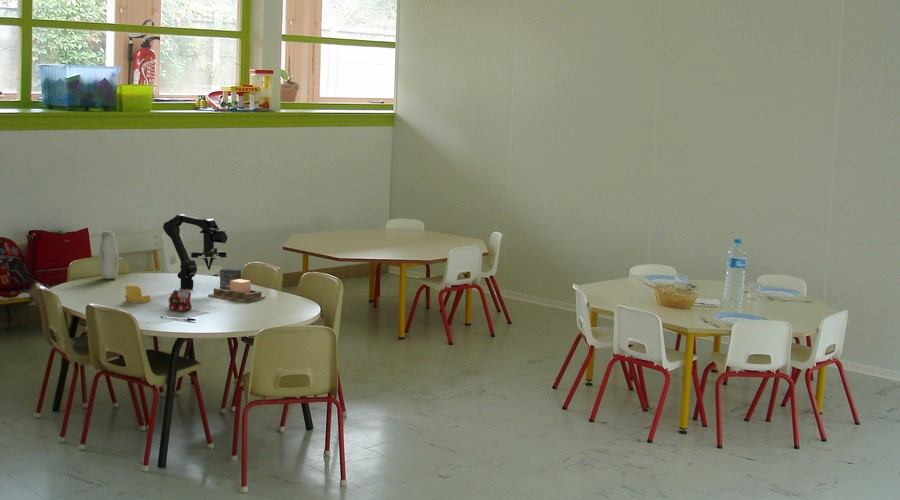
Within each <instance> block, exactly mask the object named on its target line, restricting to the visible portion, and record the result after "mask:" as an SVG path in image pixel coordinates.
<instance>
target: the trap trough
mask: <svg viewBox="0 0 900 500" xmlns="http://www.w3.org/2000/svg"><path fill="white" fill-rule="evenodd" d="M207 296H208V297H209V298H214V297H215V298H216V299H221V300H227V301H231V302H232V301H233V302H239V303H244V304H246V303H250V302H254V301H259V300H263V299H266V296H265V295H262V291H260V290H254V289H251V294H246V293H240V292H235V291H230V286H225V289H224V288H216V287H215V288H213V293H210V294H209V293H208V294H207ZM215 298H214V299H215Z"/></svg>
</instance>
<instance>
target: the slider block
mask: <svg viewBox="0 0 900 500" xmlns="http://www.w3.org/2000/svg"><path fill="white" fill-rule="evenodd" d="M251 287H252V285H251V280H249V279H242V278H241V279H237V280H232V281H230V291H235V292H240V293H246V294H251V290H252V289H251Z"/></svg>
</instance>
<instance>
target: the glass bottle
mask: <svg viewBox="0 0 900 500" xmlns="http://www.w3.org/2000/svg"><path fill="white" fill-rule="evenodd" d="M98 251H99V252H98V257H99V258H98V260H99V261H98V262H99V273H100V275H101V277H102V278H103V279H105V280H112V279H113V280H114V279H115V278H116V277H117V275H118V274H119V268H120V267H119V249H118V245H117V242H116V234H115V233H114V231H112V230H105V231H103V232H102V233H101V236H100V245H99V250H98Z"/></svg>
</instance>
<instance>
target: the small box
mask: <svg viewBox="0 0 900 500" xmlns="http://www.w3.org/2000/svg"><path fill="white" fill-rule="evenodd" d="M241 272H242V269H239V268H222V269H220V270H219V289H224V288H225V286H230V281H232V280H237V279H242V273H241Z"/></svg>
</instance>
